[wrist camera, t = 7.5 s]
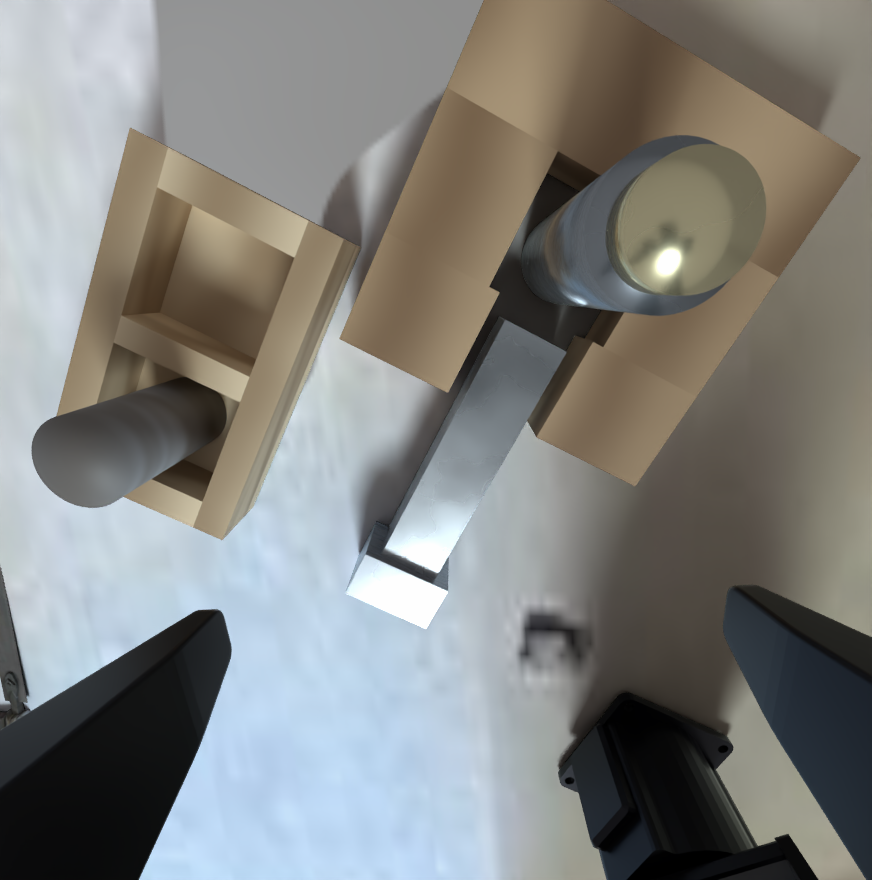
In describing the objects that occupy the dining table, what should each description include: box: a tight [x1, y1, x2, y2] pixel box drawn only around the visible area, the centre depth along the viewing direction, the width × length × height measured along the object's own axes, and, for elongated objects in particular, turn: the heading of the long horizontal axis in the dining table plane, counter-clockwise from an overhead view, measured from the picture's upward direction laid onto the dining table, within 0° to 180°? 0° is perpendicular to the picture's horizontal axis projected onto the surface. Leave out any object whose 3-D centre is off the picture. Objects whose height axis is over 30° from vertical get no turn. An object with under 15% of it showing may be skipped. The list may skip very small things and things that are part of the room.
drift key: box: [346, 316, 567, 629], centre depth 19 cm, size 4×12×3 cm, turn 154°
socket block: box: [340, 0, 860, 486], centre depth 17 cm, size 12×12×2 cm
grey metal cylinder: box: [521, 135, 766, 316], centre depth 13 cm, size 3×3×10 cm
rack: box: [32, 128, 361, 540], centre depth 16 cm, size 7×12×7 cm, turn 154°
